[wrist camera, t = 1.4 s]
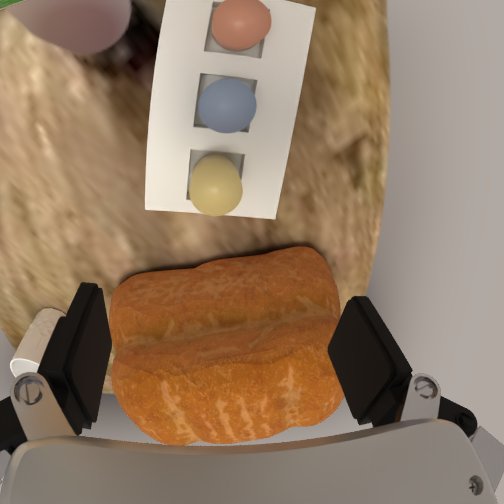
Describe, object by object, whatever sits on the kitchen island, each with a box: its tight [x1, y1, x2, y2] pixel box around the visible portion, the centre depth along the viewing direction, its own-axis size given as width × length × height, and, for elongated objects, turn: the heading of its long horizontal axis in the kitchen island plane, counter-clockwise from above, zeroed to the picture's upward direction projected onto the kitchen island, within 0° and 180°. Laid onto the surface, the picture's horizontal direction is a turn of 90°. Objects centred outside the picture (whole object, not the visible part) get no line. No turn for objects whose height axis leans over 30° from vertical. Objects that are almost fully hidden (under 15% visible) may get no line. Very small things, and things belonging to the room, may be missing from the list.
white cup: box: [10, 308, 66, 377], centre depth 32 cm, size 8×8×10 cm
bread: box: [109, 246, 345, 446], centre depth 31 cm, size 16×26×17 cm, turn 97°
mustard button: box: [189, 154, 243, 216], centre depth 24 cm, size 4×4×4 cm
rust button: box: [212, 0, 272, 52], centre depth 18 cm, size 4×4×4 cm
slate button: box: [199, 79, 257, 133], centre depth 21 cm, size 4×4×4 cm
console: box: [145, 0, 316, 219], centre depth 24 cm, size 20×12×4 cm, turn 171°
